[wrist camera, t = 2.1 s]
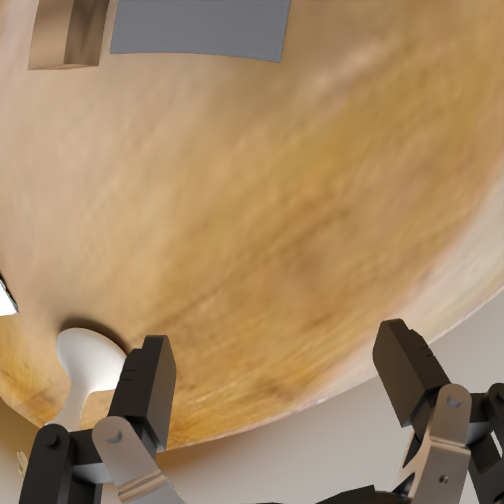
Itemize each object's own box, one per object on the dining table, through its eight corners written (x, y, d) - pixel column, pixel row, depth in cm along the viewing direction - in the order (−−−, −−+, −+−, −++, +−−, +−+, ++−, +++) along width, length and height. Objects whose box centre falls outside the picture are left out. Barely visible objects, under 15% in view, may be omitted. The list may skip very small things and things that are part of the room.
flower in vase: (79, 305, 32) (-4, 491, 10) (150, 357, 37) (113, 542, 15) (47, 347, 36) (-13, 487, 14) (106, 388, 41) (70, 528, 19)
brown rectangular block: (84, -25, 15) (51, -42, 9) (117, -31, 15) (89, -53, 10) (66, 69, 20) (27, 70, 14) (98, 66, 20) (63, 63, 15)
